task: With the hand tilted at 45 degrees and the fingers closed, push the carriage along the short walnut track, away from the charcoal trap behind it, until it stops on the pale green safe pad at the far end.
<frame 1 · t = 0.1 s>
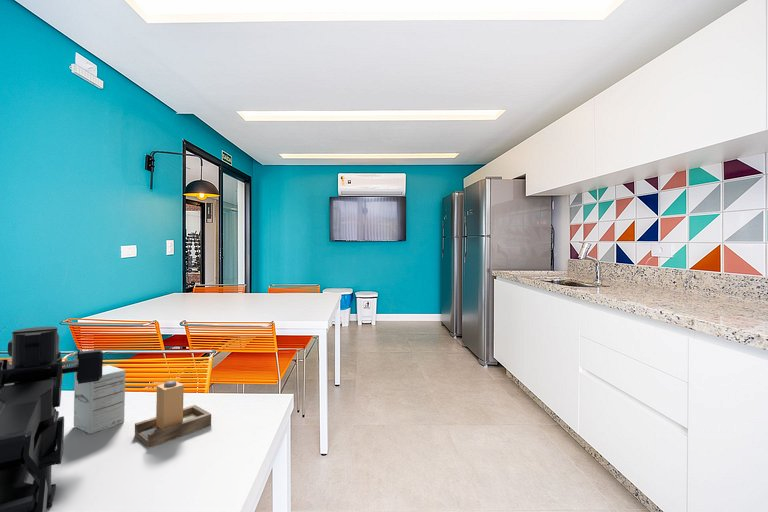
hand: (47, 362, 78), 16 cm above the table, tool horizontal, fingers open, 9 cm apart
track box: (174, 430, 83), on the table
carriage: (169, 403, 82), point 6 cm above the table, slide at 0.0 cm
supplement box: (99, 425, 85), on the table
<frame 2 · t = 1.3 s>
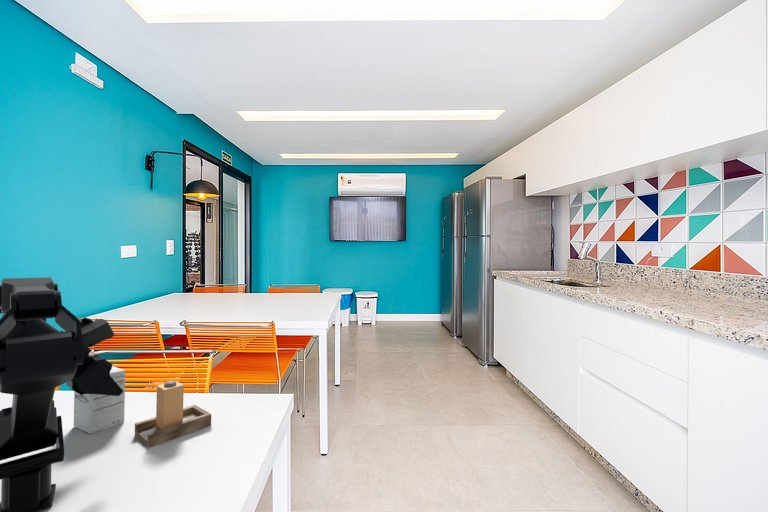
hand: (112, 387, 74), 13 cm above the table, tool tilted 45°, fingers open, 9 cm apart
nothing on the table moved.
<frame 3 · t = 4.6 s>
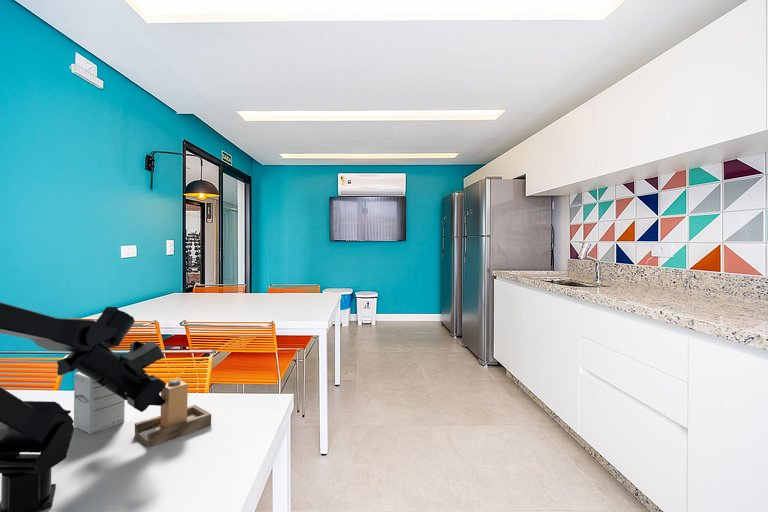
hand: (162, 403, 81), 7 cm above the table, tool tilted 45°, fingers closed, pressing on carriage
carriage: (174, 402, 83), point 6 cm above the table, slide at 0.9 cm, touching gripper
everything else where it was.
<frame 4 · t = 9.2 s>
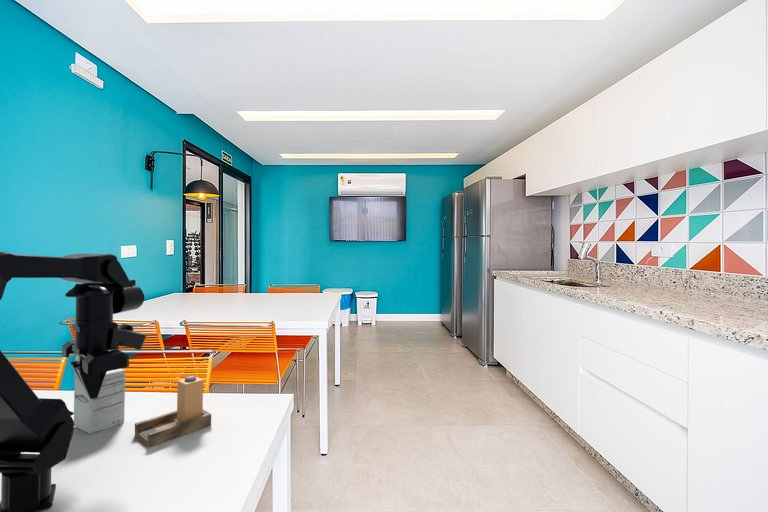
hand: (93, 398, 71), 12 cm above the table, tool pointing down, fingers closed
carriage: (190, 397, 86), point 6 cm above the table, slide at 4.4 cm
everything else where it was.
at the end: carriage slide at 4.4 cm; supplement box moved 0.2 cm from its start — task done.
